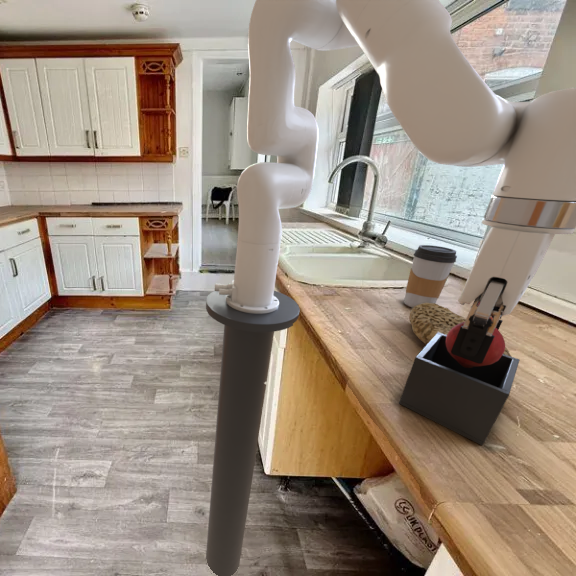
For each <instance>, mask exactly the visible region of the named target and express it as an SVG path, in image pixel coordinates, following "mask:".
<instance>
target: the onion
mask: <svg viewBox="0 0 576 576" xmlns="http://www.w3.org/2000/svg"><path fill="white" fill-rule="evenodd" d="M490 319H492V320H493V317H492V316H490ZM491 322H492V321H491ZM464 323H465V322H462V323H459V324H458V325H456V326H454V327H453V328H452V329H451V330H450V331H449V333H448V334H447V337H446V347H447V351H448V352H449V353H450V355H451V356H452V357H453V358H454V359H455V360H456V361H457V362H458V363H459V364H461V365H462V366H463V367H466V368H472V367H478V366H485V365H490V364H493V363H495V362H496V361H498V360H499V359H500V358H501V356H502V355H503V353H504V351H505V347H506V342H505V338H504V337H503V334H502V332H500V330H498V329H497V328H495V330H494V332H493V334H492V335H494V336H495V337H494V339H493V341H492V343H491V345H490V348H489V350H488V352H487V354H486V356H485V358H484V361H483V362H482V363H481V364H478V363H475V362H473V361H470V360H467V359H464V358H462V357H459V356H456V355H453V354H452V353H451V350H452V347H453V345H454V342H455V340H456V337H457V335H458V332H459V330H460V327H461V326H463V325H464Z"/></svg>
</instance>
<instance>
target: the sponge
mask: <svg viewBox="0 0 576 576" xmlns="http://www.w3.org/2000/svg"><path fill="white" fill-rule="evenodd" d="M465 321H466V317H464V316H461V315H459V314H457V313H455V312H454V311H452V310H450V309H449V308H448V307H444V306H443V305H440V304H438V303H437V302H436V303H422V304H419V305H416V306H414V308H411V310H410V313H409V323H410V324H411V328H412V332H413V334H414V335H415V336H416V337H417V338H418V339H419V340H420V341H421V342H422V343H424V345H425V346H426V345H427V344H428V343H429V342H430V341H431V339H432V338H433V337H434V336H435V335H436V334H437V333H438V332H439V333H442V334H445V335H447V334H448V333H449V331H450V330H451V329H452V328H453V327H454V326H456V325H458V324H459V323H462V322H465ZM503 354H505V355H508V356H511V357H512V355H511V353H510V351H509V349H508V348H507V347H506V346H505V351H504V353H503Z"/></svg>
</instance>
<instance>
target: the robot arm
mask: <svg viewBox="0 0 576 576" xmlns="http://www.w3.org/2000/svg"><path fill="white" fill-rule="evenodd" d="M452 25H453V18H452V16H451V14H450V12H449V11H448V9H446V7H445V6H444V5H443V3H442V2H441V1H440V0H255V2H254V5H253V7H252V11H251V14H250V18H249V24H248V33H247V50H248V51H247V52H248V53H247V54H248V64H249V66H248V67H249V69H248V70H249V84H248V85H249V87H248V99H247V100H248V101H247V102H248V103H247V123H246V125H247V126H246V138H247V140H246V141H247V144H248V147H249V149H250V150H251V151H252V152H254V153H255V154H258V155H261V156H271V157H274V156H275V157H277V162H272V161H271V162H270V161H264V162H263V161H261V162H256V163H253V164H250V165H249V166H247V167H246V168H245V169H244V170H243V171H242V172H241V174H240V175H239V178H238V180H237V184H236V185H237V186H236V192H237V193H236V194H237V204H238V230H237V242H236V243H237V244H236V254H235V263H234V264H235V265H234V274H233V275H234V276H233V279H232V280H231V283H229V282H228V283H227V284H223V283H214V291H219V294H220V295H227V296H226V302H227V304H228V305H229V306H230V307H232V308H234V309H236V310H238V311H241V312H246V313H252V314H265V313H270V312H273V311H275V310H276V309H277V308H278V306H279V300H278V299H277V298H276V297H275V296H274V295H273V294H274V291H275V286H276V281H277V279H276V278H277V271H278V264H279V258H280V252H281V251H280V250H281V245H282V235H283V223H282V220H281V215H280V212H279V211H280V209H281V210H282V209H283V210H284V209H293V208H297V207H299V206H301V205H302V204H304V203H305V202H306V201H307V200H308V198H309V197H310V194H311V192H312V190H313V186H314V180H315V179H314V178H315V170H316V163H317V153H318V144H319V126H318V121H317V119H316V117H315V116H314V113H312V112H311V111H310V110H308V109H307V108H305V107H301V106H297V105H296V104H295V87H296V65H295V60H294V56H293V53H292V48H291V42H292V41H293V42H296V43H298V44H300V45H303V46H305V47H307V48H309V49H313V50H316V51H324V52H326V51H327V52H328V51H336V50H342V49H348V48H355V47H359V48H360V49H361V51H362V52H363V54H364V55H365V56H366V58H367V59H368V61H369V63H370V65H372V68H374V70H375V72H376V74H377V75H378V77H379V83H380V86H381V89H382V93H383V96H384V99H385V101H386V103H387V106H388V108H389V110H390V111H391V113H392V115H393V117H394V118H395V120H396V121H397V123H398V124H399V125H400V127H401V128H402V130H403V132H404V133H405V135H406V136H407V137H408V139H409V140H410V142H411V144H412V145H413V147H415V149H416V150H417V151H418V152H419V153H420V154H421V156H423V157H424V158H426V159H427V160H428V161H430V162H432V163H435V164H438V165H445V166H455V167H463V168H475V167H477V168H478V167H486V166H494V165H495V166H496V165H503V166H502V168H501V171H500V174H499V176H498V178H497V182H496V184H495V187H494V189H493V191H492V194H491V197H490V199H489V201H488V204H487V207H486V210H485V212H484V214H483V217H482V220H481V225H482V224H483V225H484V226H489V227H490V229H489V230H488V232H487V234H486V235H485V237H484V240H483V242H482V244H481V246H480V248H479V250H478V253H477V255H476V258H475V260H474V262H473V265H472V266H471V270H470V272H469V275H468V277H467V278H466V281H465V283H464V286H463V288H462V291H461V293H460V295H459V297H458V300H457V301H458V303H459V304H460V305H462V306H464V305H465V304H466V305H470V304H471V303H472V305H471V306H470V310H469V312H468V314H467V316H466V317H465V319H466V321H465V323H464V325H463V326H461V327H460V330H459V332H458V335H457V337H456V340H455V342H454V345H453V347H452V350H451V353H452V354H453V355H456V356H459V357H462V358H464V359H467V360H470V361H473V362H475V363H478V364H481V363H482V362H483V361H484V358H485V356H486V354H487V352H488V350H489V348H490V345H491V343H492V341H493V339H494V337H495V336H494V335H492V334H493V332H494V330H495V328H497V329H498V330H499V329H500V328H501V325H502V323H503V320H502V317H503V316H508V315H510V314H511V313H512V312H513V310H514V309H515V308H516V306H517V305H518V303H519V302H520V300H521V299H522V297H523V296H524V294H525V292H526V291H527V290H528V288H529V286H530V284H531V282H532V280H533V279H534V277H535V275H536V273H537V271H538V269H539V268H540V266H541V264H542V261H543V260H544V258H545V255H546V253H547V251H548V249H549V248H550V245H551V243H552V241H553V239H554V238H555V235H573V233H574V232H575V231H576V86H574V87H567V88H561V89H557V90H552V91H549V92H546V93H542V94H540V95H539V96H537V97H535V98H534V99H533V100H531V101H512V100H507V99H505V98H503V97H501V96H500V95H498V94H496V93H495V92H494V91H493V90H492V89H491V87H490V86H489V85H488V84H487V83H486V82H485V81H484V79H483V78H482V77H481V75H480V74H479V73H478V72H477V70H476V69H475V68H474V66H473V65H472V64H471V62H470V60H468V58H467V57H466V56H465V54H464V53H463V52H462V50H461V48H460V47H459V46H458V44H457V42H456V40H455V39H454V37H453V36H452V33H451V27H452ZM490 316H492V317H493V320H492V319H490ZM491 321H492V322H491ZM499 331H500V330H499Z"/></svg>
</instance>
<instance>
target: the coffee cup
mask: <svg viewBox="0 0 576 576" xmlns="http://www.w3.org/2000/svg"><path fill="white" fill-rule="evenodd" d="M456 254H457V250H455V249H453V248H449V247H445V246H440V245H439V246H438V245H430V244H429V245H428V244H421V245H418V247H417V249H415V251H414V253H413V260H412V265H411V268H410V270H409V275H408V280H407V284H406V288H405V294H404V299H403V301H404V304H405V306H407V307H409V308H411V309H413V308H414V306H416V305H419V304H422V303H436V304H437V301H438V299H439V298H440V297H441V296H440V295H441V294H442V291H443V289H444V287H445V285H446V282H447V280H448V279H449V276H450V273H451V271H452V269H453V266H454V265H455V263H456V262H457V258H458V255H456Z"/></svg>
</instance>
